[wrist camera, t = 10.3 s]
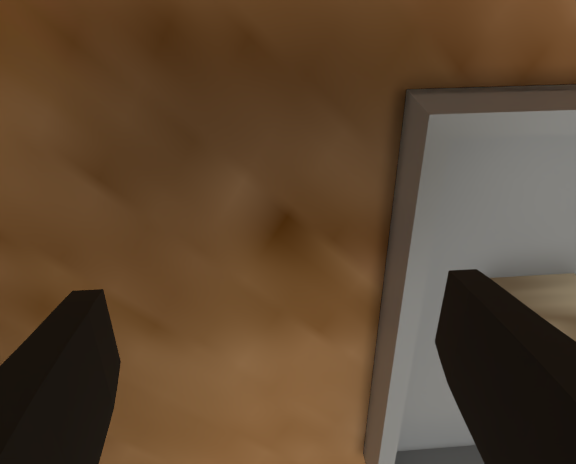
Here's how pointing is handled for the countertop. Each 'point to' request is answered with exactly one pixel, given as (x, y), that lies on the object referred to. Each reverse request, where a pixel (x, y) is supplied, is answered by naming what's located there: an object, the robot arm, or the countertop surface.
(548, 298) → the block
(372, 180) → the countertop surface
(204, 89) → the countertop surface
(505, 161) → the tray
